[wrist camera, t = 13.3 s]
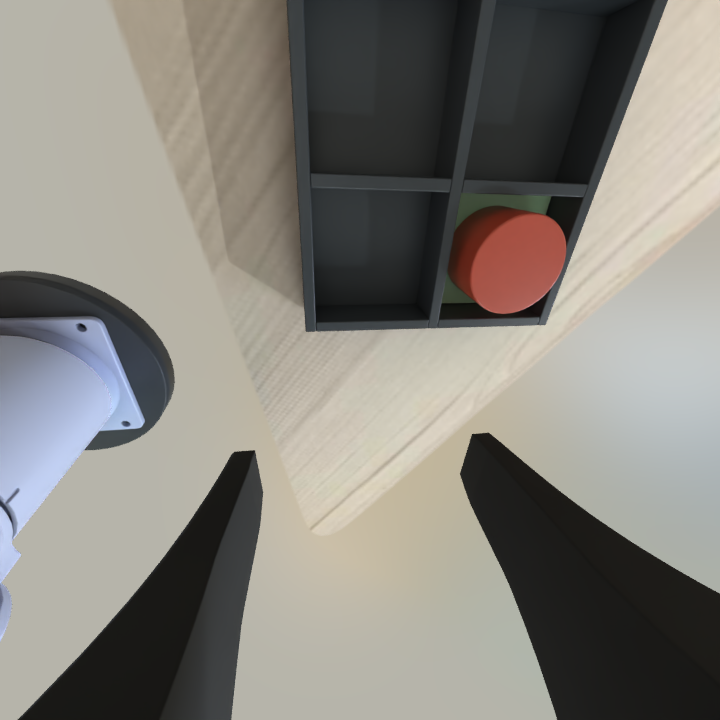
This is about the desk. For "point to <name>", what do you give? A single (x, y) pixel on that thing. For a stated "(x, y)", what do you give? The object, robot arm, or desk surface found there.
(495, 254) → the cylinder
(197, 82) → the desk surface
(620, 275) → the desk surface
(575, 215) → the grid
